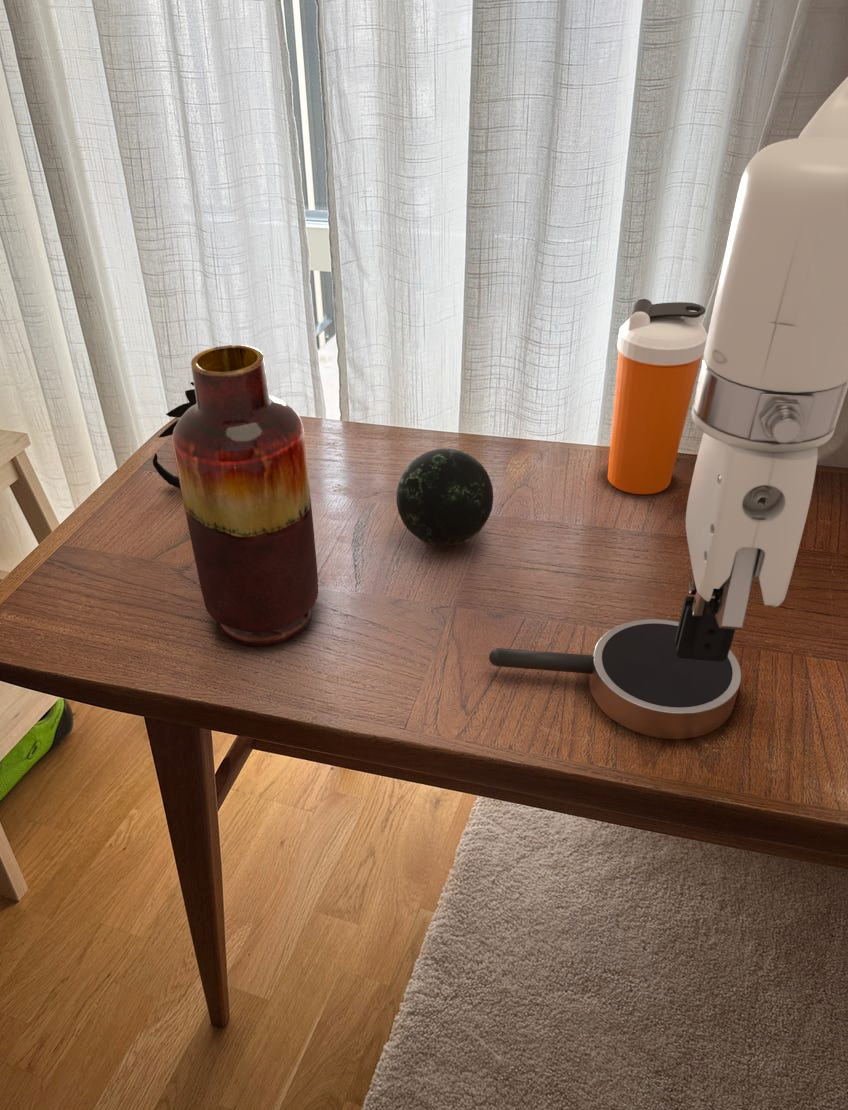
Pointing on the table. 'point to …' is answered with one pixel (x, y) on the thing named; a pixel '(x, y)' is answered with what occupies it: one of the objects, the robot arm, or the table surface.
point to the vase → (247, 499)
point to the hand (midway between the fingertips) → (699, 651)
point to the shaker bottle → (653, 392)
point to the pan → (645, 679)
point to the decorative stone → (444, 497)
